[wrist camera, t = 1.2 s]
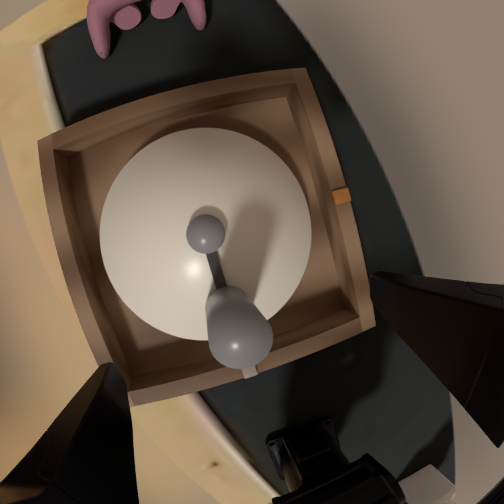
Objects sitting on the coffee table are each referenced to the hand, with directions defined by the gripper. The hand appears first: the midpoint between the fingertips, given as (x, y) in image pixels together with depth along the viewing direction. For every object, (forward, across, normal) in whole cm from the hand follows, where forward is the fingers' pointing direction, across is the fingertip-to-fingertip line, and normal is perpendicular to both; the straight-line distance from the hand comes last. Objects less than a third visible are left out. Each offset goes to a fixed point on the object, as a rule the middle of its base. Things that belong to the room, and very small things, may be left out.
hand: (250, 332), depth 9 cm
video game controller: (+19, 0, -18) cm, 26 cm away
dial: (+12, 0, 0) cm, 12 cm away
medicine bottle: (+2, -16, +41) cm, 44 cm away
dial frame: (+13, 0, 0) cm, 13 cm away
